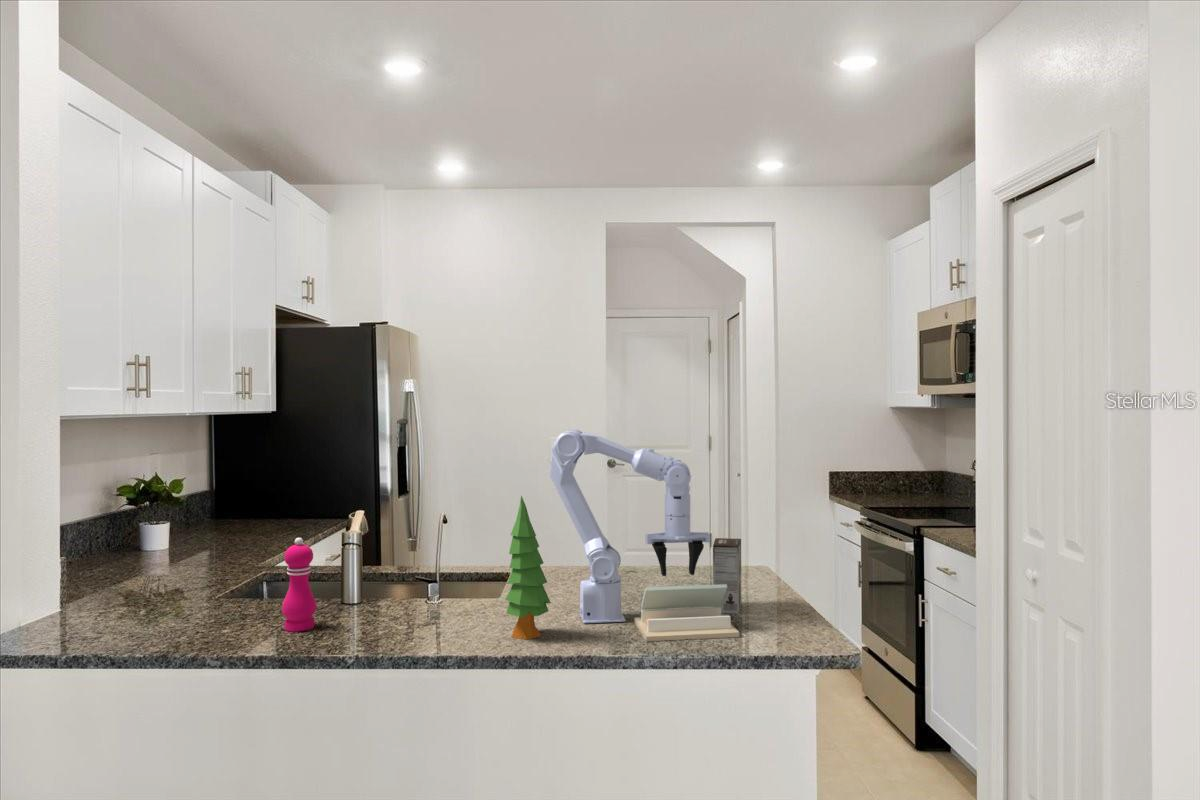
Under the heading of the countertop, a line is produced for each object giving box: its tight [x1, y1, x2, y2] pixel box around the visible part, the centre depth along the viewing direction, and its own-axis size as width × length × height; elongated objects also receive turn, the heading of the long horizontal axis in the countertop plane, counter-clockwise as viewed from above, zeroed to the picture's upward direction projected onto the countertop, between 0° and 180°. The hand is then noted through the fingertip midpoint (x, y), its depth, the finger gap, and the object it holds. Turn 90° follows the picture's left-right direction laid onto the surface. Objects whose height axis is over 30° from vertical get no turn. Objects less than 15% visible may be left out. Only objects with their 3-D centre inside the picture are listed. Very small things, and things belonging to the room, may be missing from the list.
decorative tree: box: [505, 495, 551, 640], centre depth 173 cm, size 10×9×30 cm
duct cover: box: [640, 584, 727, 611], centre depth 178 cm, size 18×8×1 cm
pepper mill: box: [281, 537, 318, 633], centre depth 179 cm, size 7×7×20 cm
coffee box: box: [712, 537, 742, 615], centre depth 194 cm, size 9×6×16 cm
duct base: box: [633, 607, 740, 642], centre depth 177 cm, size 20×14×4 cm
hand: (677, 574), depth 184 cm, fingers open, 6 cm apart
